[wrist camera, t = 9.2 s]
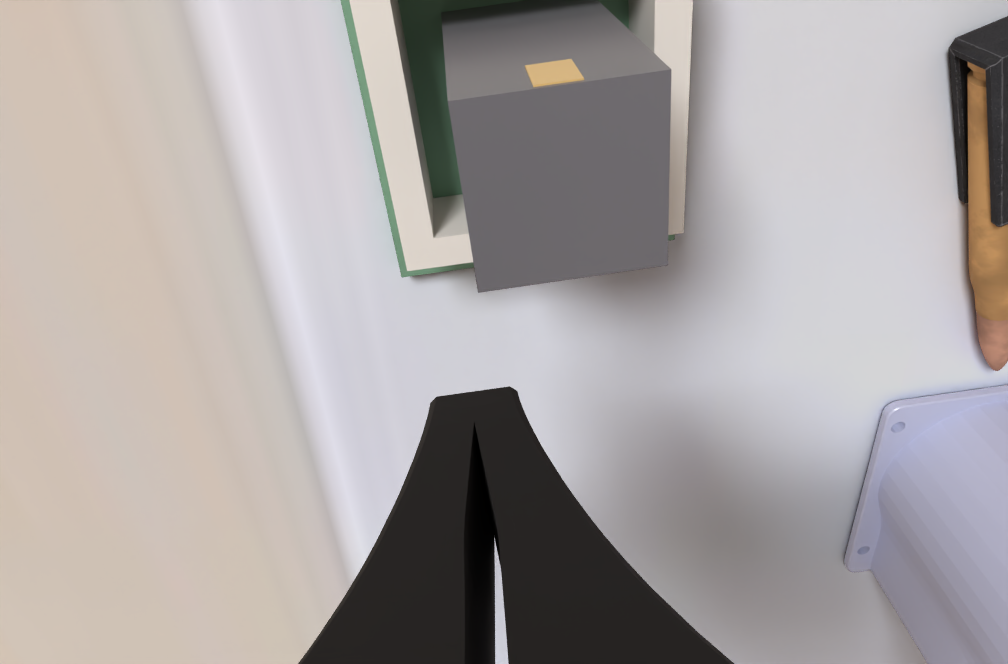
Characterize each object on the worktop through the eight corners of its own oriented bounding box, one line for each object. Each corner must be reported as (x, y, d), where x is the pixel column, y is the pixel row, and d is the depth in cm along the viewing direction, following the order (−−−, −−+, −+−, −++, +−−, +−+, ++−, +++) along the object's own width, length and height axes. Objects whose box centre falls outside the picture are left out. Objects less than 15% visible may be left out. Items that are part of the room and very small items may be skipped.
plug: (594, 137, 19) (667, 266, 13) (462, 155, 19) (478, 294, 13) (588, -11, 17) (671, 66, 11) (440, 10, 17) (447, 99, 11)
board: (668, 230, 21) (700, 281, 19) (402, 267, 21) (398, 323, 19) (679, -180, 16) (726, -185, 13) (315, -133, 15) (293, -128, 13)
